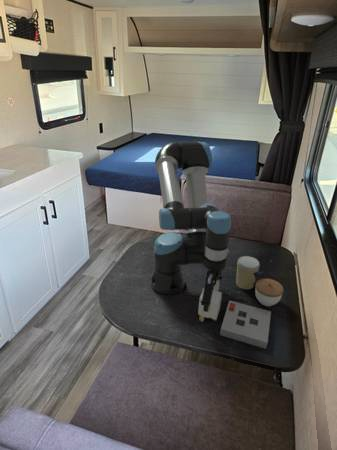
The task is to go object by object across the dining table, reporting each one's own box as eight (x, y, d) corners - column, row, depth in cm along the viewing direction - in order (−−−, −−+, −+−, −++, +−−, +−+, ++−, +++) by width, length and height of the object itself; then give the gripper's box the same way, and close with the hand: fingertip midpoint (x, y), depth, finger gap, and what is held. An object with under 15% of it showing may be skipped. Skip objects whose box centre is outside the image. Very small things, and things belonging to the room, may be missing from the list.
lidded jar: (259, 289, 130) (263, 271, 126) (283, 300, 124) (288, 282, 120) (248, 302, 122) (251, 283, 118) (273, 314, 116) (278, 295, 112)
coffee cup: (256, 292, 128) (260, 269, 123) (234, 289, 130) (237, 266, 124) (254, 279, 136) (259, 257, 131) (234, 276, 138) (237, 254, 132)
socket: (219, 334, 107) (221, 327, 105) (228, 306, 120) (229, 298, 118) (266, 349, 102) (268, 341, 100) (269, 317, 115) (271, 309, 113)
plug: (197, 320, 113) (199, 297, 108) (201, 309, 118) (203, 287, 113) (215, 325, 111) (218, 303, 106) (219, 314, 116) (222, 292, 111)
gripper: (218, 279, 90) (212, 330, 99) (233, 241, 111) (226, 287, 120) (194, 273, 92) (190, 324, 102) (213, 237, 113) (208, 282, 123)
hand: (210, 304), depth 111 cm, fingers open, 13 cm apart
